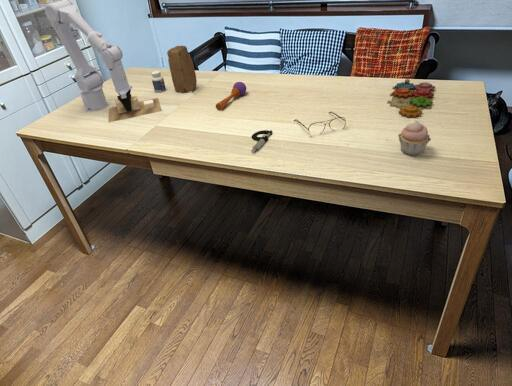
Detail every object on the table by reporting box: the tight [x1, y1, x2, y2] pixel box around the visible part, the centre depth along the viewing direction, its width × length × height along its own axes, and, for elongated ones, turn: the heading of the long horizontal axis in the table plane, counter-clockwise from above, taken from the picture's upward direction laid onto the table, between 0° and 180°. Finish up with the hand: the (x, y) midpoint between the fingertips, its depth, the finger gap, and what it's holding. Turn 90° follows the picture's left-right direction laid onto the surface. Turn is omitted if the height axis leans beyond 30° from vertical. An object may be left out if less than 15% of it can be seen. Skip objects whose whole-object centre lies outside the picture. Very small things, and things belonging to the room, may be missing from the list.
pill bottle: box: [151, 70, 167, 93], centre depth 174 cm, size 5×5×10 cm
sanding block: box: [114, 95, 140, 115], centre depth 158 cm, size 9×4×5 cm, turn 108°
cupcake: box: [397, 120, 432, 156], centre depth 112 cm, size 9×9×10 cm
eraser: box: [143, 98, 155, 109], centre depth 161 cm, size 4×4×2 cm
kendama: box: [215, 81, 247, 111], centre depth 159 cm, size 6×6×20 cm
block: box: [166, 45, 198, 94], centre depth 169 cm, size 11×8×20 cm
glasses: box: [293, 111, 347, 135], centre depth 134 cm, size 14×15×5 cm
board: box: [108, 97, 162, 123], centre depth 161 cm, size 22×16×1 cm
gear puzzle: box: [386, 78, 436, 118], centre depth 142 cm, size 31×16×4 cm, turn 156°
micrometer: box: [250, 129, 273, 154], centre depth 128 cm, size 15×7×2 cm, turn 153°
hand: (129, 108), depth 159 cm, fingers closed on sanding block, 4 cm apart
